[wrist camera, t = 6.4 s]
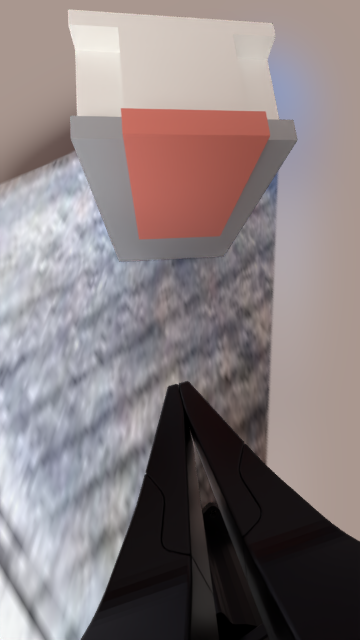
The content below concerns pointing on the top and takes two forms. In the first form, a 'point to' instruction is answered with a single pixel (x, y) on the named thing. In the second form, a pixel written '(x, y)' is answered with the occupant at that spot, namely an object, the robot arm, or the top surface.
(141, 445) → the top surface
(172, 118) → the button
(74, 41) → the box
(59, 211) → the top surface
